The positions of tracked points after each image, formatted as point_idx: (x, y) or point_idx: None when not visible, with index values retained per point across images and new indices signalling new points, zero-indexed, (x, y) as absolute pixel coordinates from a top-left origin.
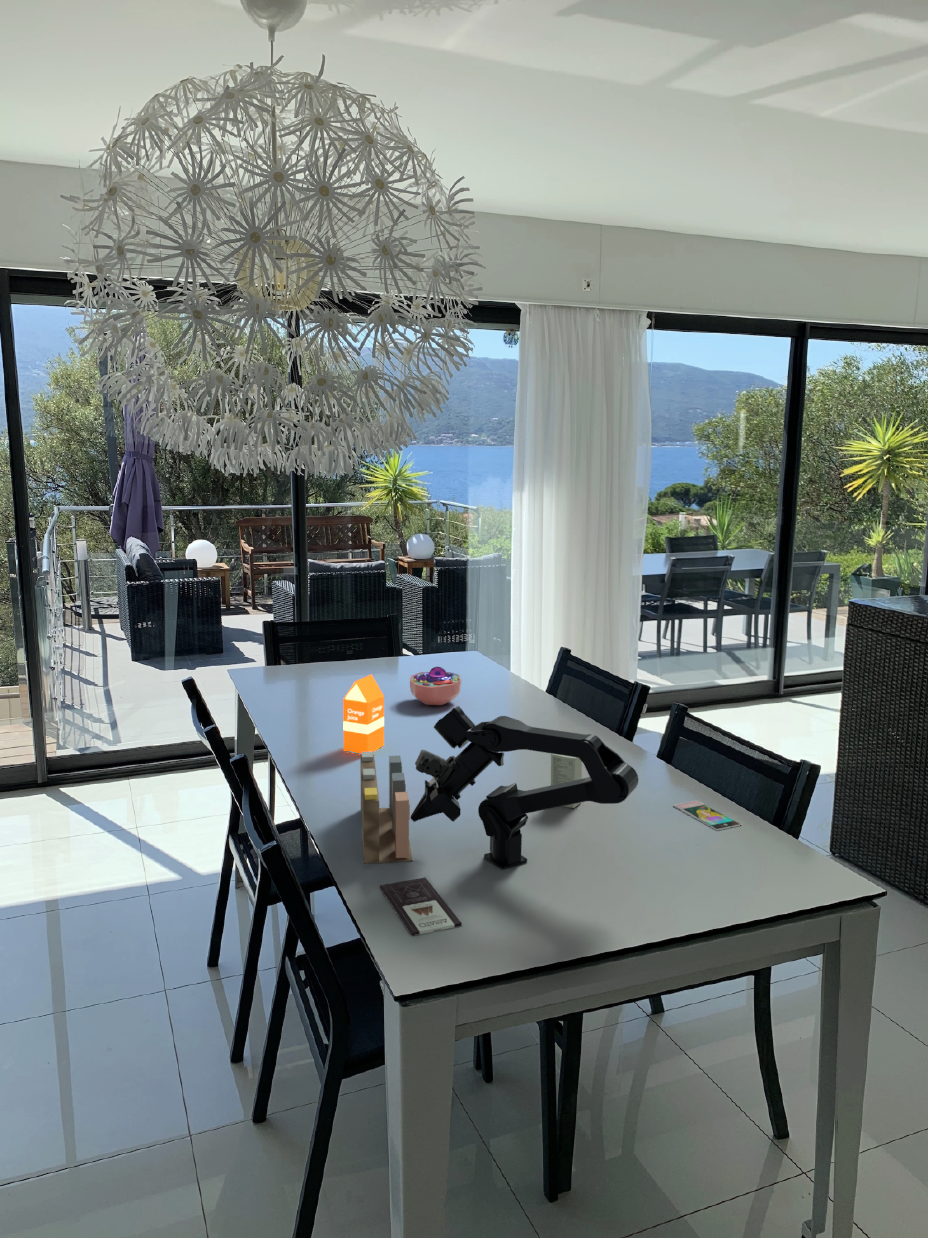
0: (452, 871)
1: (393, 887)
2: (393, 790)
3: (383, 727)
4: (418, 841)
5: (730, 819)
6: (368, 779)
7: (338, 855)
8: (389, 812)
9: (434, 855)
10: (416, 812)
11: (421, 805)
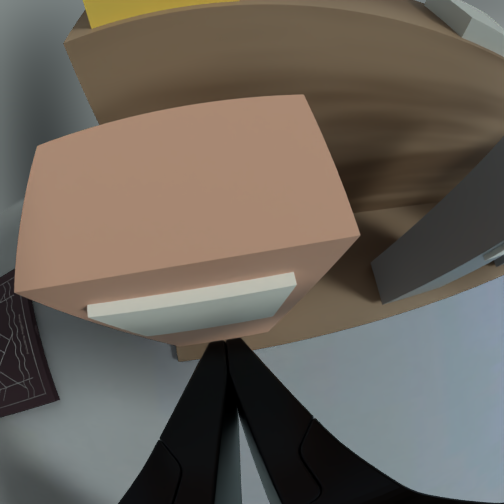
0: (122, 487)
1: (10, 302)
2: (481, 163)
3: None
4: (355, 362)
5: None
6: (438, 17)
7: None
8: None
9: (239, 437)
10: (188, 392)
11: (152, 457)
